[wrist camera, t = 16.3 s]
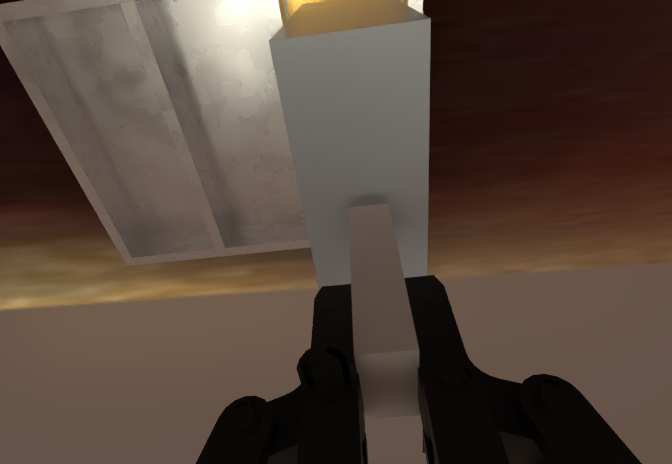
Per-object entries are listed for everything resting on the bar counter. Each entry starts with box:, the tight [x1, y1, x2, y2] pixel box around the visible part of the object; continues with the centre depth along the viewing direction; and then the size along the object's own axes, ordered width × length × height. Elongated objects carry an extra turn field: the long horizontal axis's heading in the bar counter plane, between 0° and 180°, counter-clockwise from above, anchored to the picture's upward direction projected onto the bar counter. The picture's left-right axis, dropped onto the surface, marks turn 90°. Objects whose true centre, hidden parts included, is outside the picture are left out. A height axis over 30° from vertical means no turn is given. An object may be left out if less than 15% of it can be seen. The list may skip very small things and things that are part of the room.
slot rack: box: [0, 0, 423, 266], centre depth 27 cm, size 24×19×4 cm
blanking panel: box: [269, 0, 431, 290], centre depth 21 cm, size 5×14×14 cm, turn 7°
